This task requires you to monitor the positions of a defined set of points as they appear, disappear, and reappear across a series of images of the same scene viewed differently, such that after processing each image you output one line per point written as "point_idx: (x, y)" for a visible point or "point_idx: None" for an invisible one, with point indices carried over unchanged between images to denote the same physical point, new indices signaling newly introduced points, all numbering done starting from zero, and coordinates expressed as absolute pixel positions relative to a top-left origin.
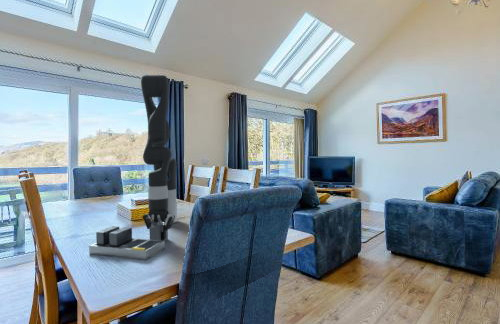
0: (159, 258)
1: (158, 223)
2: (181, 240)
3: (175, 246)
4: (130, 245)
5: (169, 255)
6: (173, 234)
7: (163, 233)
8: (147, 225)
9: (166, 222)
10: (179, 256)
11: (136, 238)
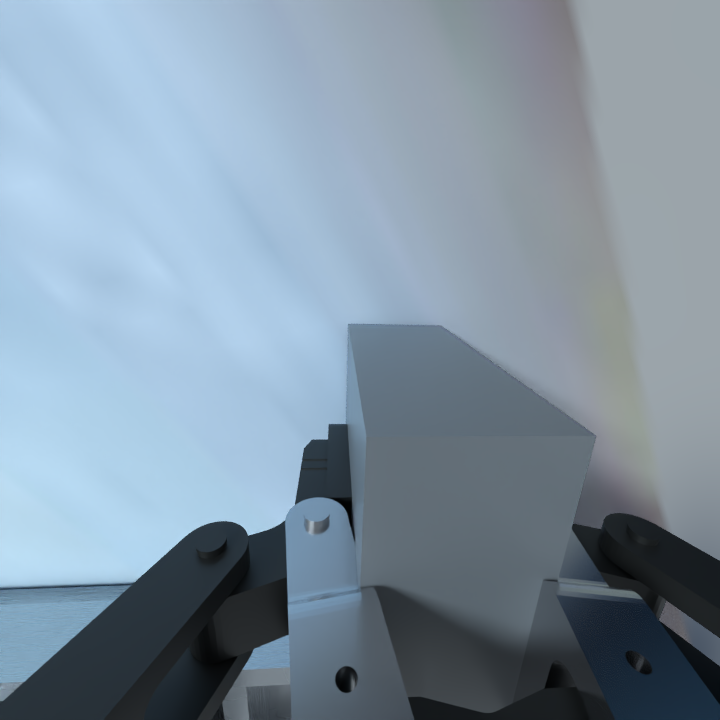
0: None
1: (373, 574)
2: (611, 311)
3: (598, 487)
4: (260, 716)
5: None
6: (403, 53)
7: None
8: (186, 704)
9: (563, 447)
10: (683, 636)
11: None
